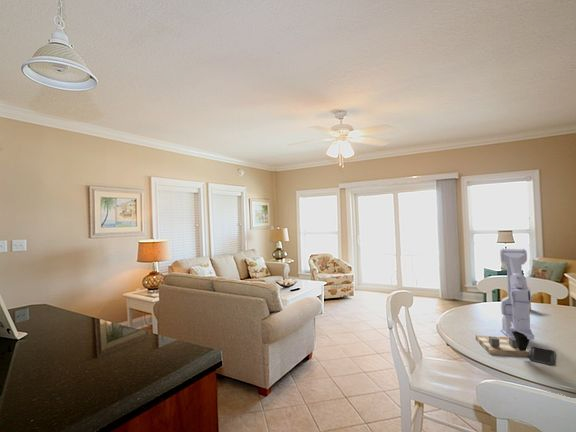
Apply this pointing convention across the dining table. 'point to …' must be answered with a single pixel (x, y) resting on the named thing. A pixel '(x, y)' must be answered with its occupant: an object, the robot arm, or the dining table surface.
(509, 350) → the switch board
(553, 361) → the phone
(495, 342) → the switch tab
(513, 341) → the switch tab
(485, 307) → the dining table surface
